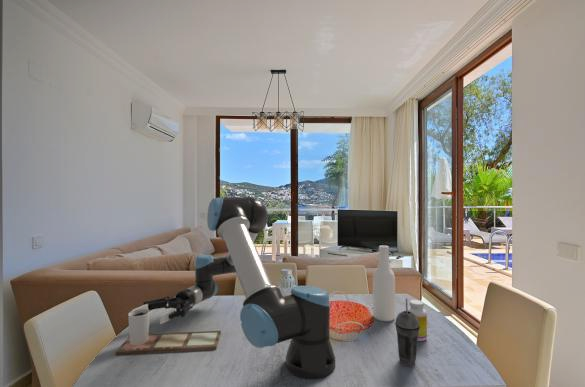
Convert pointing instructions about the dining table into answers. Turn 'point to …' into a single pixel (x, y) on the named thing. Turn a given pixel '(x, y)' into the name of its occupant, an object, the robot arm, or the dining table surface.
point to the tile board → (173, 343)
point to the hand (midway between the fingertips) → (145, 317)
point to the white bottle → (383, 288)
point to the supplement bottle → (419, 318)
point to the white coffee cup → (139, 326)
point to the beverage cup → (407, 336)
